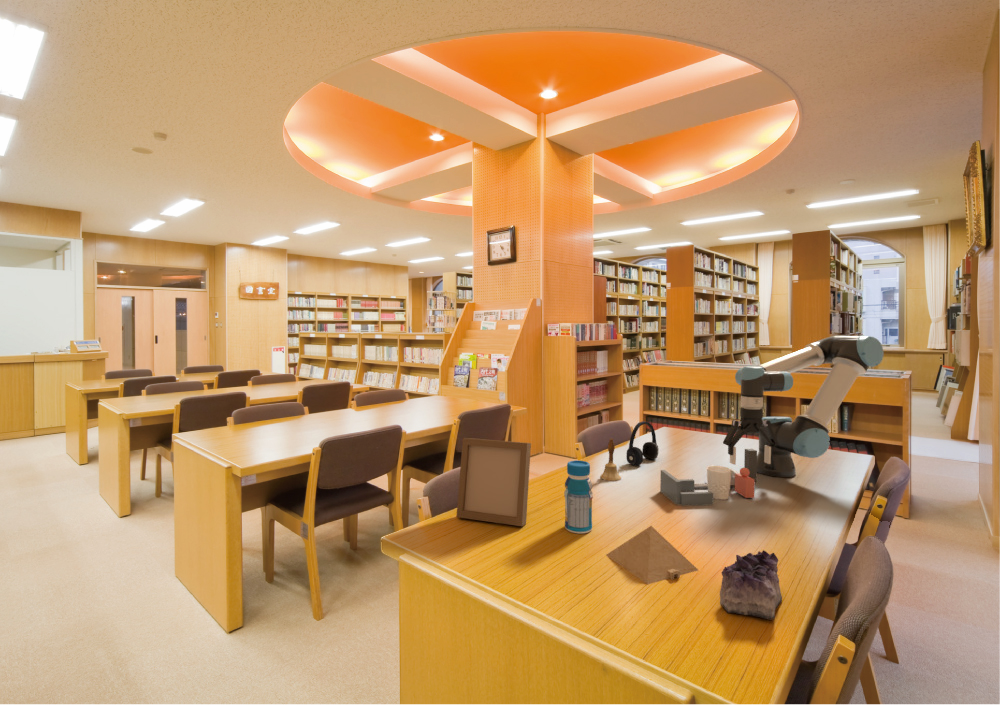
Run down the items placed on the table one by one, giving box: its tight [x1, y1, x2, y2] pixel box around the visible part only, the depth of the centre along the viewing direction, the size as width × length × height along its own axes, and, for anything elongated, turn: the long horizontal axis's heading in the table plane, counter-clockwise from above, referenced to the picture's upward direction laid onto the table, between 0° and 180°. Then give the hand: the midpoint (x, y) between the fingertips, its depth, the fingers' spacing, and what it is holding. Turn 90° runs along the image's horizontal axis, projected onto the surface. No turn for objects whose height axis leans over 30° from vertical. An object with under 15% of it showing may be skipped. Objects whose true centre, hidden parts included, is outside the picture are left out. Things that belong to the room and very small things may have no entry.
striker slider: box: [730, 448, 758, 499], centre depth 174 cm, size 12×15×14 cm
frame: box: [659, 469, 714, 507], centre depth 168 cm, size 12×15×8 cm
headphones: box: [626, 421, 659, 467], centre depth 213 cm, size 20×7×18 cm, turn 133°
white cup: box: [706, 465, 732, 500], centre depth 169 cm, size 8×8×10 cm
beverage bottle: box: [563, 459, 594, 535], centre depth 142 cm, size 8×8×20 cm
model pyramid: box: [605, 525, 699, 585], centre depth 121 cm, size 17×17×10 cm
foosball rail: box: [694, 483, 735, 490], centre depth 179 cm, size 30×3×1 cm, turn 94°
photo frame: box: [456, 437, 532, 527], centre depth 153 cm, size 15×22×25 cm
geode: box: [719, 549, 783, 620], centre depth 105 cm, size 20×12×10 cm, turn 141°
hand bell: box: [600, 438, 622, 482], centre depth 191 cm, size 8×8×16 cm
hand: (750, 463), depth 179 cm, fingers open, 13 cm apart
